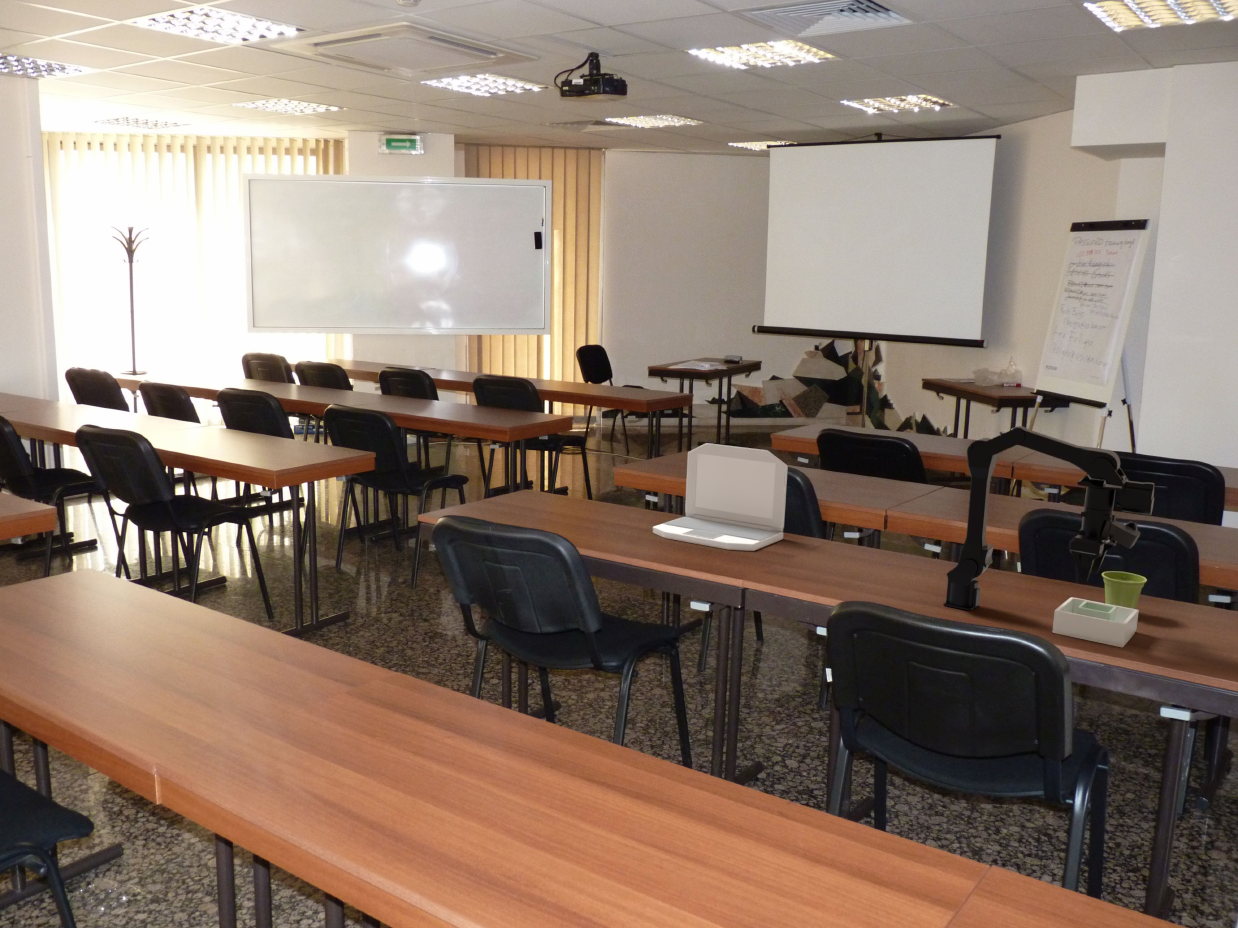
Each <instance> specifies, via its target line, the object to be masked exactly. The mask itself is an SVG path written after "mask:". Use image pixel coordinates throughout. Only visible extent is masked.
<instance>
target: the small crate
mask: <svg viewBox="0 0 1238 928" xmlns="http://www.w3.org/2000/svg"><path fill="white" fill-rule="evenodd" d="M1116 609H1117V607H1114V606H1109V605H1104V604H1098V603H1093V602H1088V601H1084V602H1083V603H1082V604H1081V605H1080V606H1079V607H1078V610H1077V614H1080V615H1085V616H1090V617H1095V618H1100V619H1105V620H1110V621H1115V617H1116Z"/></svg>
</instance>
